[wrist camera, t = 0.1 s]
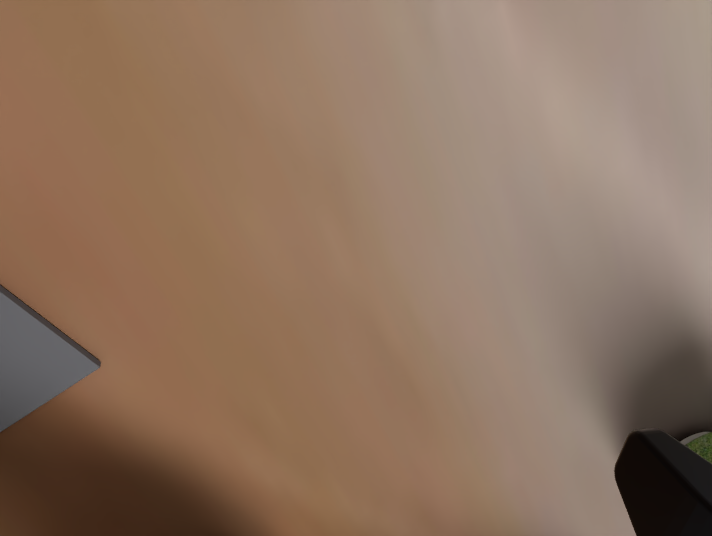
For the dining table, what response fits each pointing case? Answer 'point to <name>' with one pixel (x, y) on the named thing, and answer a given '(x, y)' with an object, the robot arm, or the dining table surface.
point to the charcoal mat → (34, 360)
